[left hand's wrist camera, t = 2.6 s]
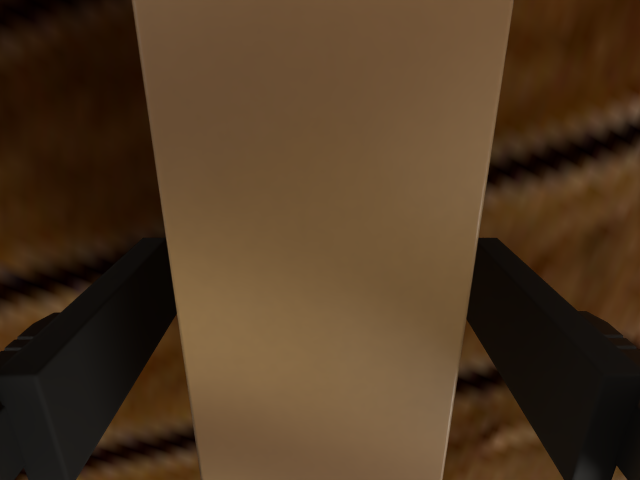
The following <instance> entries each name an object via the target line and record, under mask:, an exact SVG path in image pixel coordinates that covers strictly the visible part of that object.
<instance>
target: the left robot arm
mask: <svg viewBox="0 0 640 480" xmlns="http://www.w3.org/2000/svg"><path fill="white" fill-rule="evenodd" d="M176 314H177V309H176V302H175V295H174V289H173V282H172V275H171V268H170V261H169V254H168V247H167V240H166V238H143V239H141V240H140V241H139V242H138V243H137V244H136V245H135V246H134V247H133V248H131V249H130V250H129V251H128V252H127V253H126V254H125V255H124V256H123V257H122V258H120V259H119V260H118V261H117V262H116V263H115V264H114V265H113V266H112V267H111V268H109V269H108V270H107V271H106V272H105V273H104V274H103V275H102V276H101V277H100V278H98V279H97V280H96V281H95V282H94V283H93V284H92V285H91V286H90V287H88V288H87V289H86V290H85V291H84V292H83V293H82V294H81V295H80V296H79V297H77V298H76V299H75V300H74V301H73V302H72V303H71V304H70V305H69V306H68V307H66V308H65V309H64V310H63V311H62V312H61V313H53V314H51V315H49V316H47V317H45V318H43V319H41V320H39V321H37V322H36V323H34V324H32V325H31V326H30V327H29V328H28V329H26V330H25V331H24V332H23V333H22V334H21V335H19V336H18V339H17V340H14V341H12V342H11V343H10V344H9V345H8V346H7V347H5V350H4V351H1V352H0V480H14V479H15V478H16V477H17V475H18V474H19V473H20V471H21V470H22V469H23V467H24V468H25V471H26V474H27V477H28V480H76V479H77V477H78V475H79V474H80V472H81V470H82V469H83V467H84V465H85V464H86V462H87V460H88V459H89V457H90V455H91V454H92V452H93V451H94V449H95V447H96V446H97V444H98V442H99V441H100V439H101V437H102V436H103V434H104V432H105V431H106V429H107V427H108V426H109V424H110V423H111V421H112V419H113V418H114V416H115V414H116V413H117V411H118V409H119V408H120V406H121V404H122V403H123V401H124V399H125V398H126V396H127V395H128V393H129V391H130V390H131V388H132V386H133V385H134V383H135V381H136V380H137V378H138V376H139V375H140V373H141V371H142V370H143V368H144V367H145V365H146V363H147V362H148V360H149V358H150V357H151V355H152V353H153V352H154V350H155V348H156V347H157V345H158V343H159V342H160V340H161V339H162V337H163V335H164V334H165V332H166V330H167V329H168V327H169V325H170V324H171V322H172V320H173V319H174V317H175V315H176ZM466 319H467V320H468V322H469V324H470V325H471V327H472V329H473V330H474V332H475V334H476V335H477V337H478V339H479V340H480V342H481V344H482V345H483V347H484V348H485V350H486V352H487V353H488V355H489V357H490V358H491V360H492V362H493V363H494V365H495V367H496V368H497V370H498V372H499V373H500V375H501V376H502V378H503V380H504V381H505V383H506V385H507V386H508V388H509V390H510V391H511V393H512V395H513V396H514V398H515V400H516V401H517V403H518V404H519V406H520V408H521V409H522V411H523V413H524V414H525V416H526V418H527V419H528V421H529V423H530V424H531V426H532V428H533V429H534V431H535V432H536V434H537V436H538V437H539V439H540V441H541V442H542V444H543V446H544V447H545V449H546V451H547V452H548V454H549V456H550V457H551V459H552V460H553V462H554V464H555V465H556V467H557V469H558V470H559V472H560V474H561V475H562V477H563V479H564V480H612V477H613V474H614V471H615V468H616V465H617V466H618V468H619V469H620V470H621V472H622V473H623V474H624V476H625V477H626V478H627V480H640V350H639V349H636V346H635V345H633V344H632V343H631V342H630V341H629V340H628V339H626V338H623V335H622V334H621V333H619V332H618V331H617V330H616V329H615V328H613V327H612V326H611V325H610V324H609V323H608V322H606V321H604V320H602V319H600V318H598V317H596V316H594V315H592V314H591V313H589V312H587V311H577V310H576V309H575V308H574V307H572V306H571V305H570V304H569V303H568V302H567V301H566V300H565V299H564V298H563V297H561V296H560V295H559V294H558V293H557V292H556V291H555V290H554V289H553V288H552V287H550V286H549V285H548V284H547V283H546V282H545V281H544V280H543V279H542V278H540V277H539V276H538V275H537V274H536V273H535V272H534V271H533V270H532V269H531V268H529V267H528V266H527V265H526V264H525V263H524V262H523V261H522V260H521V259H520V258H518V257H517V256H516V255H515V254H514V253H513V252H512V251H511V250H510V249H509V248H507V247H506V246H505V245H504V244H503V243H502V242H501V241H500V240H499V239H497V238H478V243H477V250H476V257H475V263H474V270H473V277H472V284H471V290H470V297H469V304H468V310H467V317H466Z"/></svg>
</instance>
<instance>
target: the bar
mask: <svg viewBox="0 0 640 480" xmlns="http://www.w3.org/2000/svg"><path fill="white" fill-rule="evenodd" d="M513 2H514V0H132V6H133V13H134V19H135V26H136V33H137V40H138V47H139V54H140V61H141V68H142V75H143V82H144V88H145V95H146V102H147V109H148V116H149V123H150V130H151V137H152V144H153V151H154V157H155V164H156V171H157V178H158V185H159V192H160V199H161V206H162V213H163V220H164V226H165V233H166V240H167V247H168V254H169V261H170V268H171V275H172V282H173V289H174V295H175V302H176V309H177V316H178V323H179V330H180V337H181V344H182V351H183V358H184V364H185V371H186V378H187V385H188V392H189V399H190V406H191V413H192V420H193V427H194V433H195V440H196V447H197V454H198V461H199V468H200V475H201V480H442V478H443V471H444V465H445V458H446V451H447V445H448V438H449V431H450V425H451V418H452V411H453V404H454V398H455V391H456V384H457V378H458V371H459V364H460V357H461V351H462V344H463V337H464V331H465V324H466V317H467V310H468V304H469V297H470V290H471V284H472V277H473V270H474V263H475V257H476V250H477V243H478V237H479V230H480V223H481V217H482V210H483V203H484V196H485V190H486V183H487V176H488V170H489V163H490V156H491V149H492V143H493V136H494V129H495V123H496V116H497V109H498V102H499V96H500V89H501V82H502V76H503V69H504V62H505V55H506V49H507V42H508V35H509V29H510V22H511V15H512V9H513Z"/></svg>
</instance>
